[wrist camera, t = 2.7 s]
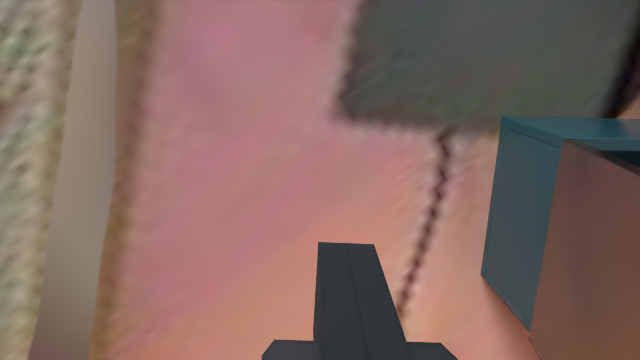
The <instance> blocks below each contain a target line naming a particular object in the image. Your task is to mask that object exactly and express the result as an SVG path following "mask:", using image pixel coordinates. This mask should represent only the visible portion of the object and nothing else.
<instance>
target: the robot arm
mask: <svg viewBox="0 0 640 360" xmlns="http://www.w3.org/2000/svg"><path fill="white" fill-rule="evenodd" d="M313 337H314V341H300V340H274V341H273V342H272V343H271V345H270V346H269V347H268V348H267V350H266V351H265V352H264V354H263V355H262V360H458V359H457V358H456V357H455V356H454V355H453V354H452V353H451V352H449V351H448V350H447V349H446V348H445V347H444V346H443V345H442V344H441V343H426V342H406V339H405V336H404V333H403V330H402V327H401V324H400V321H399V318H398V315H397V312H396V309H395V306H394V303H393V300H392V297H391V294H390V291H389V288H388V285H387V282H386V279H385V276H384V273H383V270H382V267H381V264H380V261H379V258H378V255H377V252H376V249H375V246H374V244H351V243H325V242H318V259H317V276H316V292H315V309H314V326H313Z"/></svg>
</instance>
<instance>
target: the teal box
mask: <svg viewBox="0 0 640 360" xmlns="http://www.w3.org/2000/svg"><path fill="white" fill-rule="evenodd" d="M563 139H577V140H580V141H582V142H584V143H586V144H588V145H591V146H593V147H595V148H597V149H599V150H602V151H604V152H606V153H608V154H611V155H613V156H615V157H617V158H619V159H622V160H624V161H626V162H628V163H630V164H633V165H635V166H637V167H639V168H640V119H608V118H563V117H518V116H503V117H502V123H501V130H500V138H499V145H498V152H497V160H496V167H495V174H494V182H493V189H492V196H491V204H490V211H489V218H488V226H487V233H486V240H485V248H484V255H483V262H482V270H481V276H482V277H483V278H484V279H485V280H486V281H487V282H488V284H489V285H490V286H491V287H492V288H493V290H494V291H495V292H496V293H497V294H498V296H499V297H500V298H501V299H502V300H503V302H504V303H505V304H506V305H507V306H508V307H509V309H510V310H511V311H512V312H513V313H514V315H515V316H516V317H517V318H518V319H519V321H520V322H521V323H522V324H523V325H524V327H525V328H526V329H527V330H528V331H529V332H530V329H531V323H532V317H533V311H534V306H535V300H536V294H537V288H538V283H539V277H540V271H541V265H542V259H543V254H544V248H545V242H546V236H547V231H548V225H549V219H550V213H551V208H552V202H553V196H554V190H555V185H556V179H557V173H558V167H559V162H560V156H561V150H562V144H563Z"/></svg>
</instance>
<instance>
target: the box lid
mask: <svg viewBox="0 0 640 360" xmlns="http://www.w3.org/2000/svg"><path fill="white" fill-rule="evenodd" d="M529 340H530V342H531V344H532V346H533V348H534V350H535V352H536V353H537V355H538V357H539V359H540V360H640V168H639V167H637V166H635V165H633V164H630V163H628V162H626V161H624V160H622V159H619V158H617V157H615V156H613V155H611V154H608V153H606V152H604V151H602V150H599V149H597V148H595V147H593V146H591V145H588V144H586V143H584V142H582V141H580V140H577V139H563V144H562V150H561V156H560V162H559V167H558V173H557V179H556V185H555V190H554V196H553V202H552V208H551V213H550V219H549V225H548V231H547V236H546V242H545V248H544V254H543V259H542V265H541V271H540V277H539V283H538V288H537V294H536V300H535V306H534V311H533V317H532V323H531V329H530V334H529Z"/></svg>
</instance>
